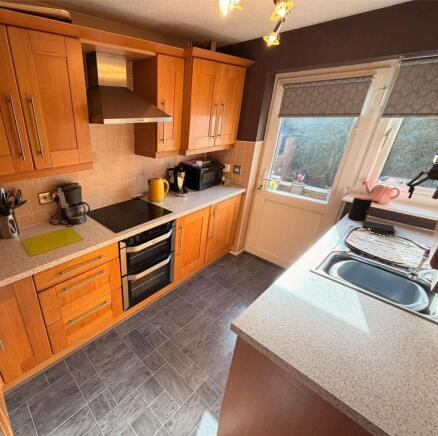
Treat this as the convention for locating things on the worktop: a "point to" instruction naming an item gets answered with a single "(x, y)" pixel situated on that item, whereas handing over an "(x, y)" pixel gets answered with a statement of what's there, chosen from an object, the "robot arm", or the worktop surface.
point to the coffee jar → (360, 207)
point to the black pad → (379, 229)
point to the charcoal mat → (368, 224)
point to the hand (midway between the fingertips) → (426, 200)
